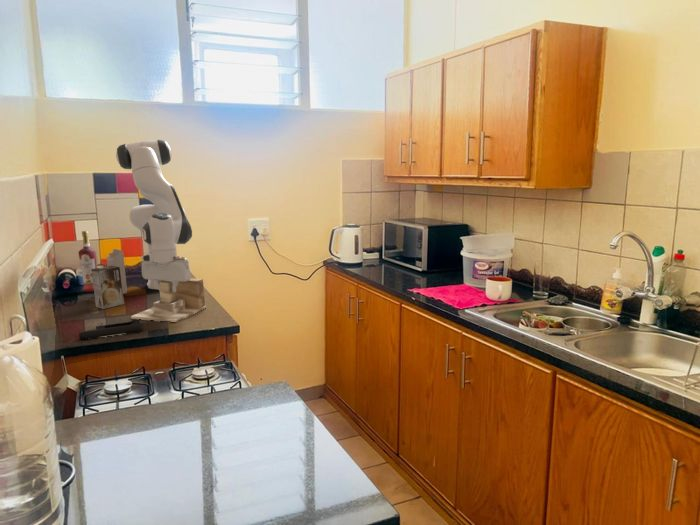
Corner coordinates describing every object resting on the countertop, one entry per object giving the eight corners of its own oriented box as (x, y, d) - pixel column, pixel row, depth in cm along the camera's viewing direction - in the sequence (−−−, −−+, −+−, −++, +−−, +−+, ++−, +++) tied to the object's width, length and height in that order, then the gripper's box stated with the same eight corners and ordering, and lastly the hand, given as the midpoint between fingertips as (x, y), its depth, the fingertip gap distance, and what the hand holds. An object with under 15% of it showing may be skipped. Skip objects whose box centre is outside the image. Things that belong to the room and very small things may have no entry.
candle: (94, 298, 233) (89, 253, 229) (118, 290, 246) (114, 248, 242) (107, 299, 231) (102, 254, 227) (130, 291, 243) (126, 248, 240)
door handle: (79, 323, 190) (78, 333, 176) (139, 315, 198) (142, 324, 184) (80, 332, 190) (79, 343, 176) (140, 324, 199) (143, 334, 185)
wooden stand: (165, 304, 221) (163, 276, 218) (207, 308, 214) (205, 279, 212) (131, 318, 202) (128, 288, 199) (175, 323, 195) (172, 291, 193)
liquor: (102, 288, 250) (96, 230, 244) (97, 292, 243) (90, 232, 237) (86, 289, 249) (79, 230, 243) (80, 293, 242) (73, 232, 236)
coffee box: (116, 302, 226) (112, 265, 223) (124, 304, 222) (120, 266, 219) (95, 306, 219) (90, 268, 216) (103, 309, 215) (99, 270, 212)
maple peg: (167, 300, 209) (165, 280, 207) (175, 300, 208) (174, 280, 206) (160, 302, 205) (159, 282, 204) (169, 303, 204) (167, 283, 202)
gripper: (192, 255, 203) (195, 291, 205) (148, 253, 209) (151, 287, 212) (182, 258, 197) (185, 294, 200) (137, 256, 203) (140, 291, 206)
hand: (167, 291), depth 206 cm, fingers closed on maple peg, 4 cm apart
